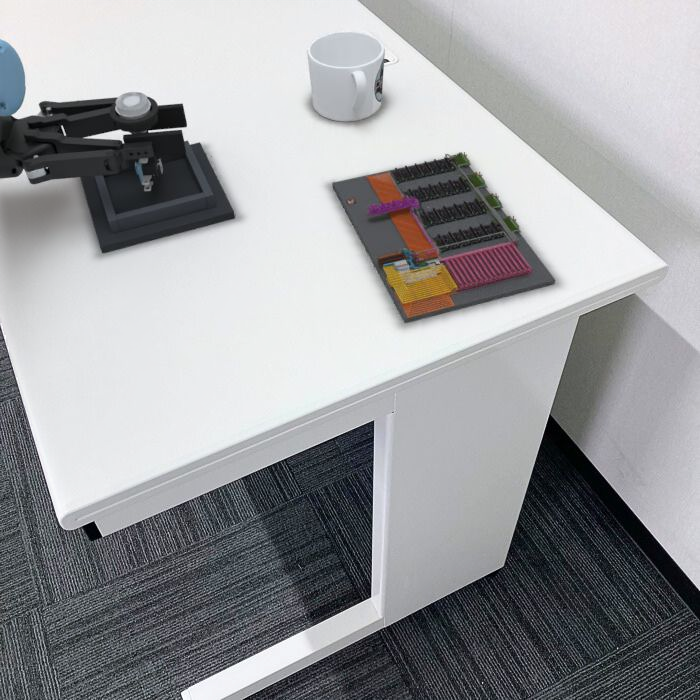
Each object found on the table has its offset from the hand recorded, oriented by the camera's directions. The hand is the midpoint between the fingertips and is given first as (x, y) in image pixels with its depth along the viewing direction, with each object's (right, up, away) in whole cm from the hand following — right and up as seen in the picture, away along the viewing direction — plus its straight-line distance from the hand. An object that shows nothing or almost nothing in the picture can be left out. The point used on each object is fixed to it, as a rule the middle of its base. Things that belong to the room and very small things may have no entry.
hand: (183, 128), depth 86 cm
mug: (+19, +8, +19) cm, 29 cm away
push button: (-5, -5, +4) cm, 8 cm away
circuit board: (+29, -12, +1) cm, 32 cm away
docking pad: (-5, -7, +7) cm, 11 cm away
